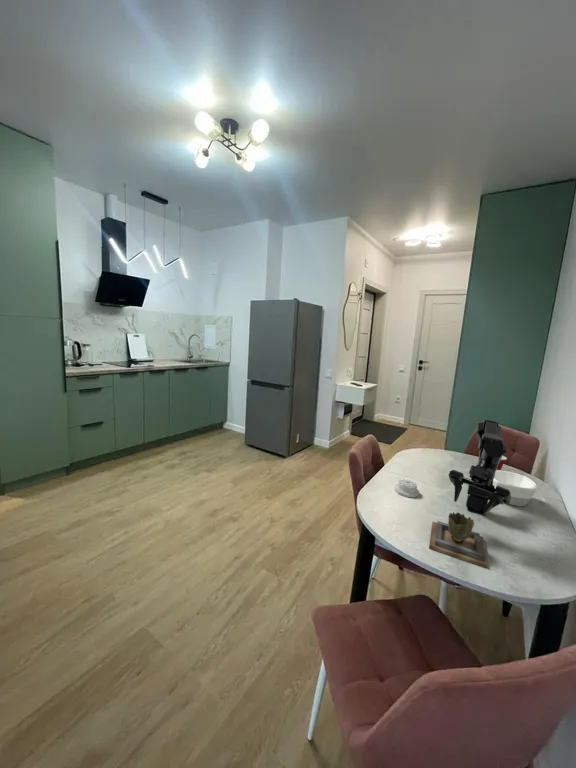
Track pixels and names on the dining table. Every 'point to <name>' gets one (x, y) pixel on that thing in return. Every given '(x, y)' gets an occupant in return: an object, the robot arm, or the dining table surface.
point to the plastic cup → (501, 463)
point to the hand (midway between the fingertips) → (469, 507)
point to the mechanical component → (407, 488)
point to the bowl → (515, 486)
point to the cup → (459, 527)
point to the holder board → (458, 545)
